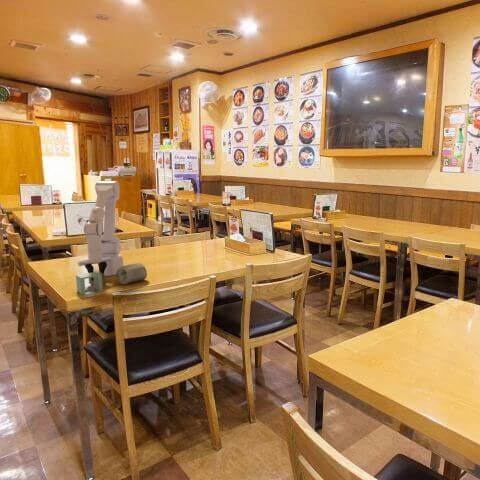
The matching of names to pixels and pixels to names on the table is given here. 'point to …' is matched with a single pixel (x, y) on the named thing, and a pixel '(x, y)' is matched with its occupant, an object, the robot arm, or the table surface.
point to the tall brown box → (102, 277)
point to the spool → (131, 273)
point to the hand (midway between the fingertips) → (96, 279)
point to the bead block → (81, 278)
